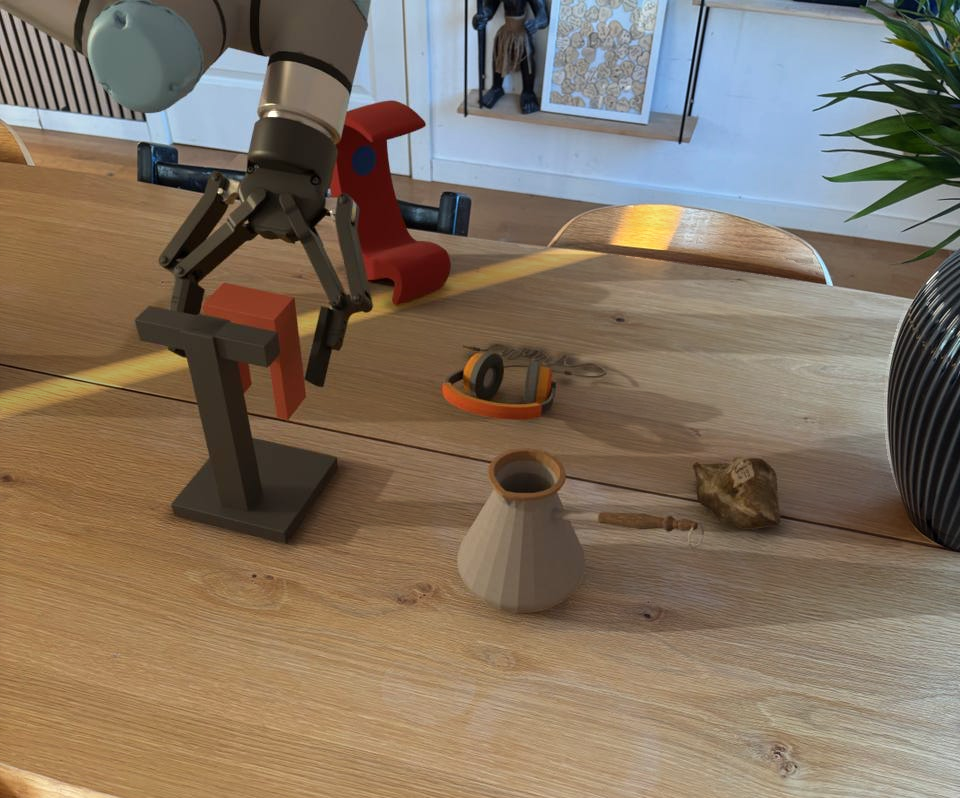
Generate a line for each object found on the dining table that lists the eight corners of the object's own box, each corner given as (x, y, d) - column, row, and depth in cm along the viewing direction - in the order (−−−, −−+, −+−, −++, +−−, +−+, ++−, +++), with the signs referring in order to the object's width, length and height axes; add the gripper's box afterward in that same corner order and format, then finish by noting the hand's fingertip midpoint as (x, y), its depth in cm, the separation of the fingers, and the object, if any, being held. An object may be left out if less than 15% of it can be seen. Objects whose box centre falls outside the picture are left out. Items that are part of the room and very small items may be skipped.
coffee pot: (431, 593, 91) (427, 460, 80) (503, 524, 98) (508, 392, 87) (639, 702, 83) (667, 571, 72) (702, 619, 90) (737, 486, 79)
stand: (173, 516, 98) (122, 330, 83) (235, 441, 106) (198, 259, 91) (286, 544, 95) (254, 358, 81) (340, 465, 103) (320, 283, 88)
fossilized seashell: (669, 468, 100) (713, 546, 95) (716, 420, 96) (764, 499, 91) (717, 482, 105) (761, 557, 100) (764, 437, 101) (812, 513, 96)
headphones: (616, 343, 114) (565, 403, 99) (608, 388, 117) (557, 453, 102) (477, 313, 118) (407, 366, 103) (473, 357, 121) (404, 415, 106)
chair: (336, 265, 131) (320, 100, 116) (382, 248, 134) (373, 85, 119) (404, 313, 123) (397, 143, 108) (452, 294, 126) (451, 126, 111)
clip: (221, 404, 97) (201, 303, 89) (241, 381, 99) (223, 282, 91) (288, 420, 95) (274, 319, 87) (306, 397, 98) (294, 297, 90)
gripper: (440, 172, 91) (385, 404, 93) (194, 132, 96) (146, 353, 98) (417, 134, 84) (358, 386, 86) (152, 92, 89) (101, 331, 91)
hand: (245, 369), depth 92 cm, fingers open, 13 cm apart
